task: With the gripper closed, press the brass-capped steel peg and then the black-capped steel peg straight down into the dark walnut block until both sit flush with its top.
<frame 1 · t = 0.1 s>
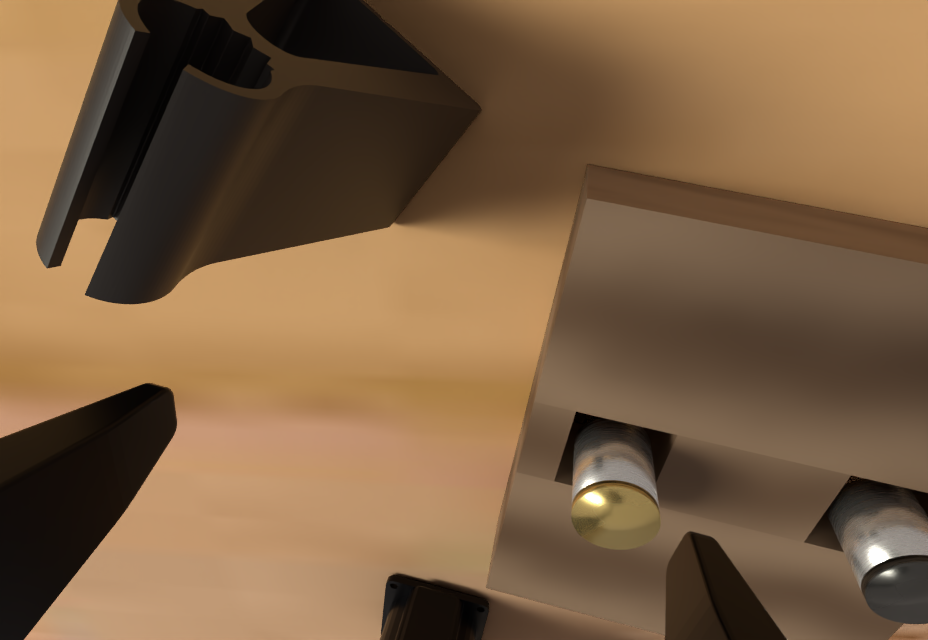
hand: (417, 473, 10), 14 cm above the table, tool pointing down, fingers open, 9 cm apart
black capped peg: (892, 547, 20), point 5 cm above the table, slide at 3.0 cm
walnut block: (722, 422, 25), on the table
brass capped peg: (613, 480, 21), point 5 cm above the table, slide at 3.0 cm
phone stand: (343, 89, 21), on the table
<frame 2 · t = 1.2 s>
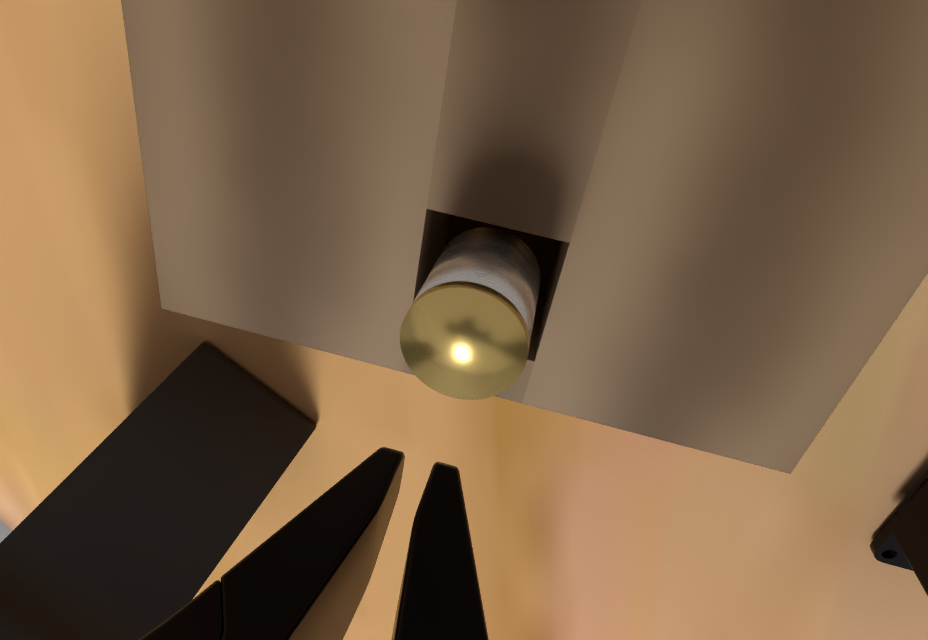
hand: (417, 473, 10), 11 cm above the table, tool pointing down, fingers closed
walnut block: (538, 78, 16), on the table
brass capped peg: (476, 308, 15), point 5 cm above the table, slide at 3.0 cm
phone stand: (222, 430, 27), on the table
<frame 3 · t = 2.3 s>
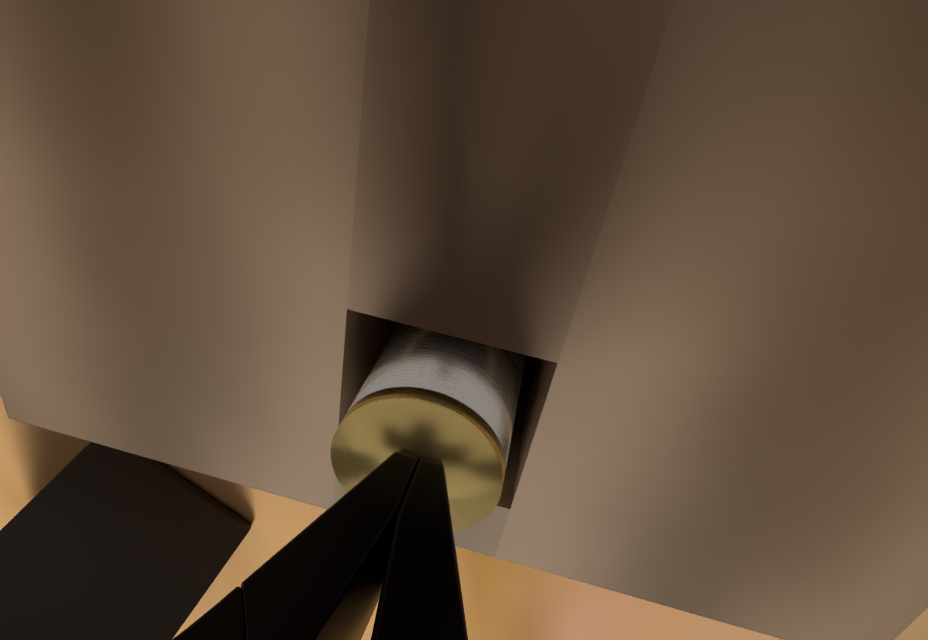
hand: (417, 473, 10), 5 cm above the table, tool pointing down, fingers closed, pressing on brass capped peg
walnut block: (515, 111, 12), on the table
brass capped peg: (440, 403, 11), point 4 cm above the table, slide at 1.5 cm, touching gripper
phone stand: (142, 522, 22), on the table
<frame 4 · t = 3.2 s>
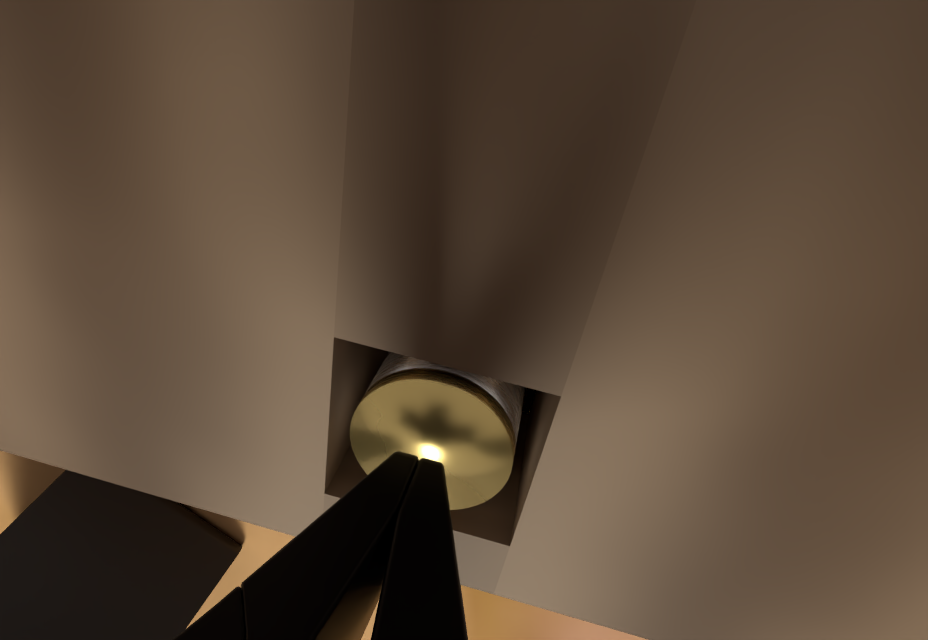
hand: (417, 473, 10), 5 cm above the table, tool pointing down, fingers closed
walnut block: (516, 122, 11), on the table
brass capped peg: (451, 387, 12), point 2 cm above the table, slide at 0.0 cm
phone stand: (130, 541, 21), on the table
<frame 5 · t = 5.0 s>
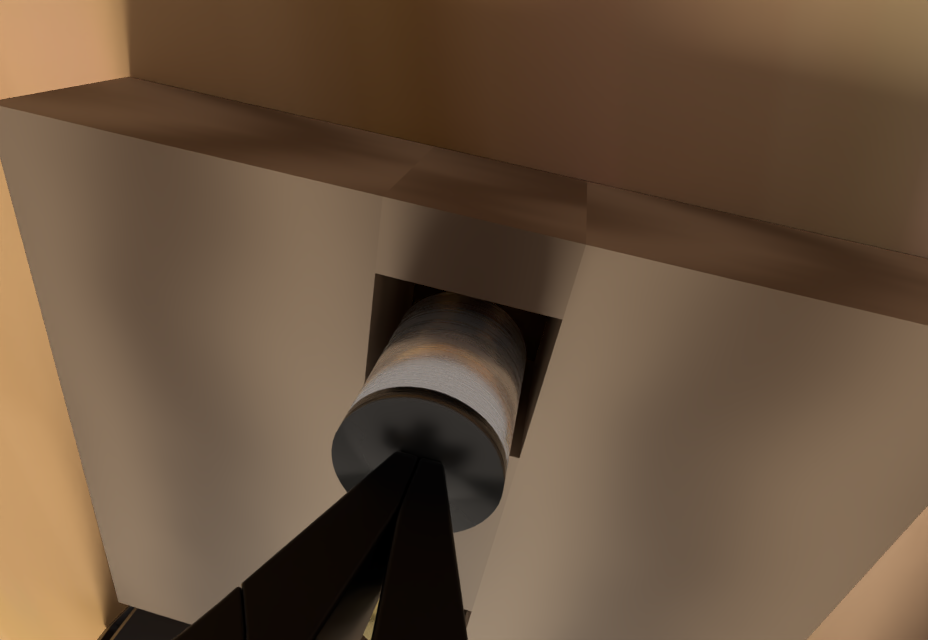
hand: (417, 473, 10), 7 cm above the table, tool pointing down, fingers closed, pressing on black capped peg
black capped peg: (441, 403, 11), point 5 cm above the table, slide at 3.0 cm, touching gripper
walnut block: (453, 423, 18), on the table
brass capped peg: (417, 574, 19), point 2 cm above the table, slide at 0.0 cm
phone stand: (188, 626, 28), on the table
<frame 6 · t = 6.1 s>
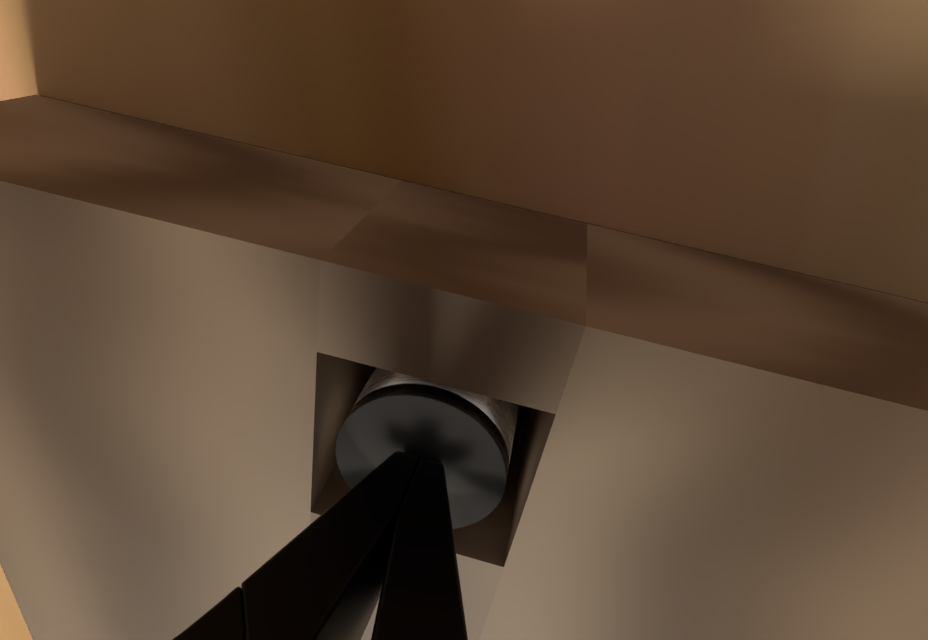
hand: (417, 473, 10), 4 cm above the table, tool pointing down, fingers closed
black capped peg: (443, 400, 11), point 2 cm above the table, slide at 0.0 cm
walnut block: (433, 491, 16), on the table
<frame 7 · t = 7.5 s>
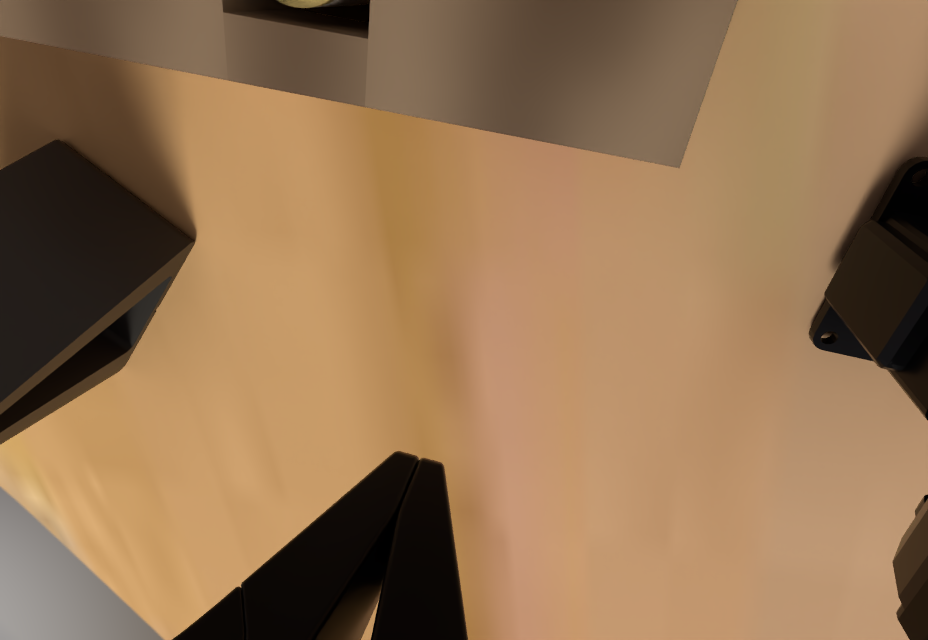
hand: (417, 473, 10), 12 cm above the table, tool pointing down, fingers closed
phone stand: (101, 263, 24), on the table
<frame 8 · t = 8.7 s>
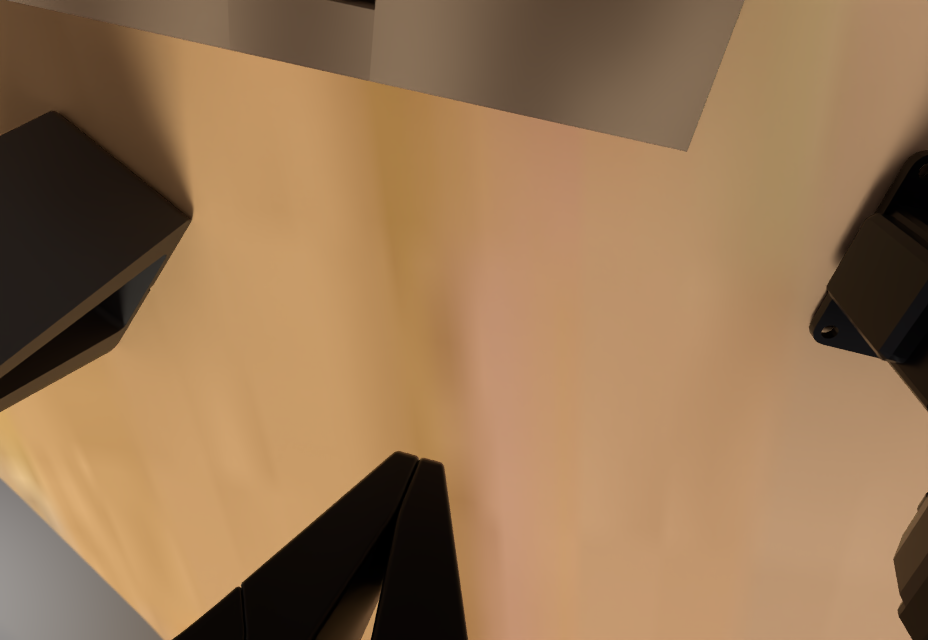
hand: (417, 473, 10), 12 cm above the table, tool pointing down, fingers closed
phone stand: (95, 240, 24), on the table
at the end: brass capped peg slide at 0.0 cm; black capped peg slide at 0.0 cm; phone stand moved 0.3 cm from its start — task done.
